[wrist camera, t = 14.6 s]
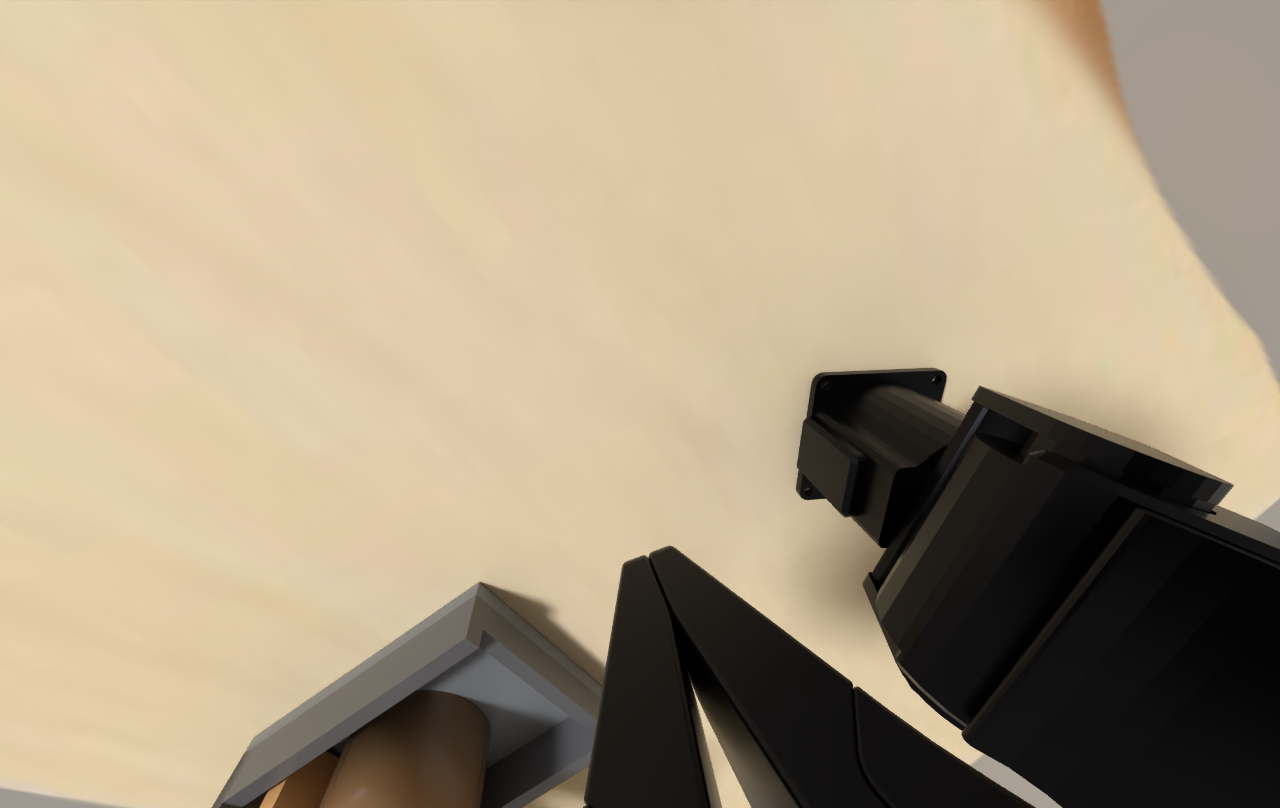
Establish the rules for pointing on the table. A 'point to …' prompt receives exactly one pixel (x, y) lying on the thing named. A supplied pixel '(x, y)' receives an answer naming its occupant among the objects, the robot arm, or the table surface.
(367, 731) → the jar
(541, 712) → the tray
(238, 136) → the table surface
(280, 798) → the block
